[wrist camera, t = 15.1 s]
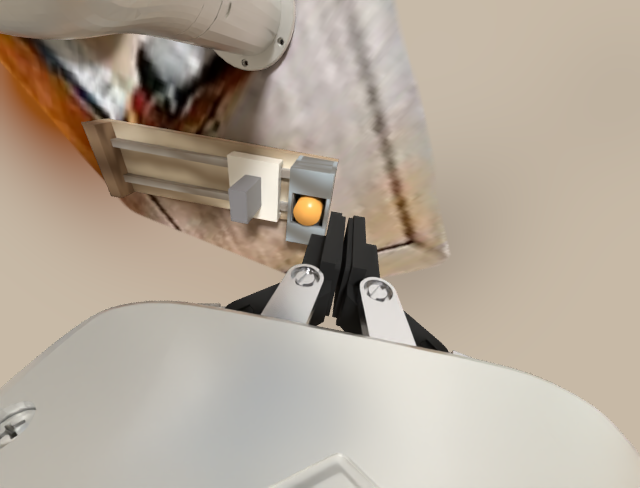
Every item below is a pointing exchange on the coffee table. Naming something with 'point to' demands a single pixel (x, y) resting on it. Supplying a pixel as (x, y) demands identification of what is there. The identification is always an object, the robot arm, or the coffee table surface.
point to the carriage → (254, 187)
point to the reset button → (308, 209)
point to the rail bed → (202, 169)
